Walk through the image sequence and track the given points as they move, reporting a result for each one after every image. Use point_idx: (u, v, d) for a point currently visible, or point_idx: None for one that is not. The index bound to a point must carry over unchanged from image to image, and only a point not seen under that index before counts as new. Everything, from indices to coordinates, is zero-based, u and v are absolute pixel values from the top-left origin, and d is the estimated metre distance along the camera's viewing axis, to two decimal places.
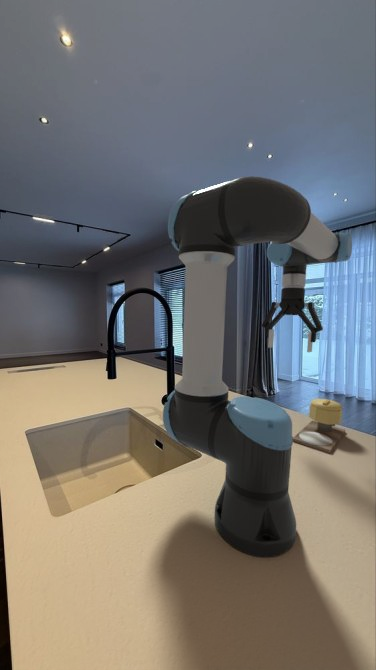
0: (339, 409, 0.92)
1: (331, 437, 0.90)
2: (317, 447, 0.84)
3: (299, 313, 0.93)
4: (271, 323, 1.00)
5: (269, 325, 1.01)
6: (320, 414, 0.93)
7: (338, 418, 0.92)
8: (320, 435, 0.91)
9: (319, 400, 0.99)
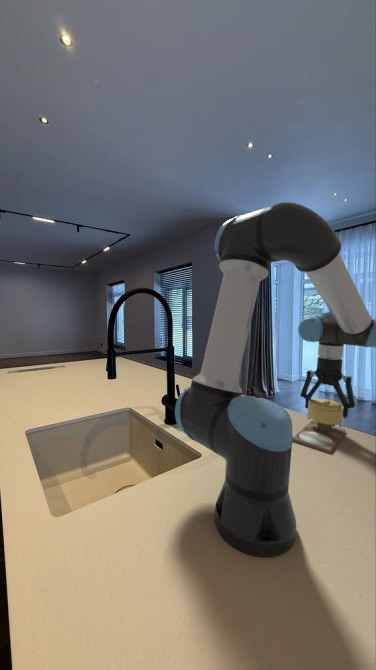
0: (339, 409, 0.92)
1: (331, 437, 0.90)
2: (317, 447, 0.84)
3: (335, 386, 0.92)
4: (310, 394, 0.98)
5: (308, 396, 0.99)
6: (320, 414, 0.93)
7: (338, 418, 0.92)
8: (320, 435, 0.91)
9: (319, 400, 0.99)
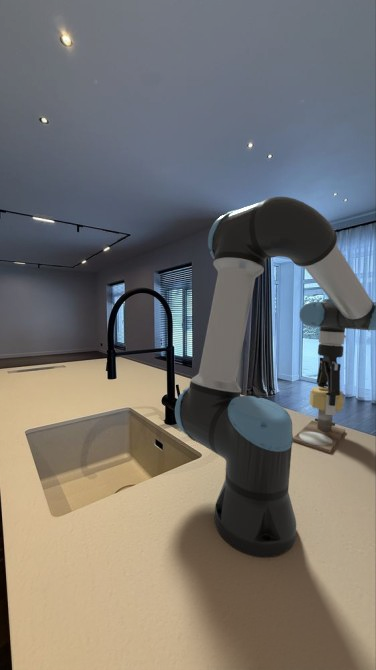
0: (326, 395, 0.92)
1: (331, 437, 0.90)
2: (317, 447, 0.84)
3: (325, 372, 0.93)
4: (319, 380, 1.01)
5: (318, 382, 1.01)
6: (311, 397, 0.97)
7: (323, 404, 0.92)
8: (320, 435, 0.91)
9: None
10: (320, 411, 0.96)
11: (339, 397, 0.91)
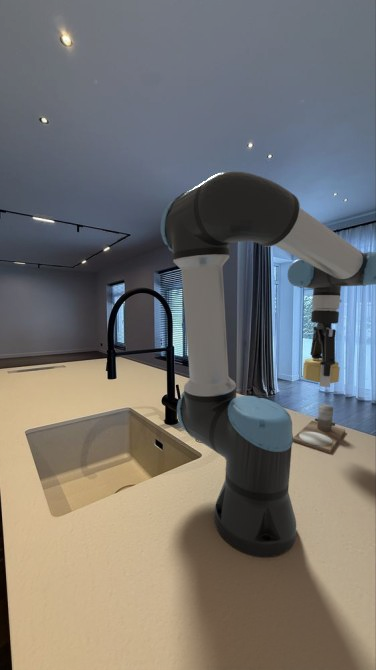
0: (320, 365, 0.83)
1: (331, 437, 0.90)
2: (317, 447, 0.84)
3: (319, 340, 0.84)
4: (313, 351, 0.92)
5: (312, 353, 0.93)
6: (304, 369, 0.88)
7: (317, 375, 0.83)
8: (320, 435, 0.91)
9: None
10: (320, 411, 0.96)
11: (334, 367, 0.83)
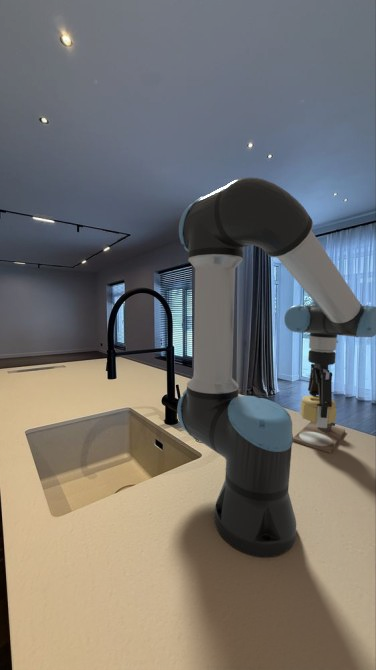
0: (317, 406, 0.84)
1: (331, 437, 0.90)
2: (317, 447, 0.84)
3: (316, 380, 0.85)
4: (310, 388, 0.93)
5: (310, 390, 0.94)
6: (302, 407, 0.90)
7: (314, 415, 0.84)
8: (320, 435, 0.91)
9: None
10: None
11: (331, 408, 0.84)
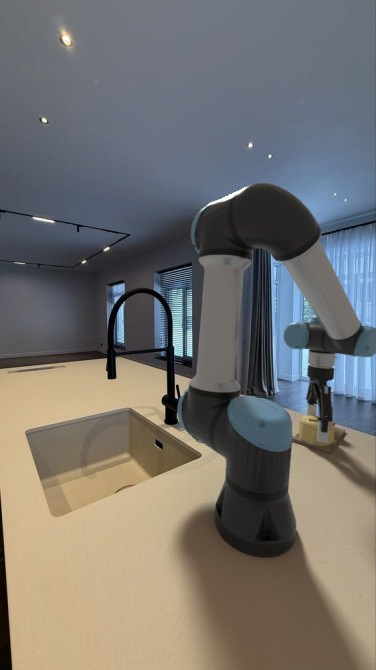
0: (315, 428, 0.85)
1: None
2: (317, 447, 0.84)
3: (315, 395, 0.85)
4: (308, 398, 0.95)
5: (308, 400, 0.95)
6: (300, 427, 0.90)
7: (312, 437, 0.85)
8: None
9: None
10: None
11: (329, 430, 0.84)
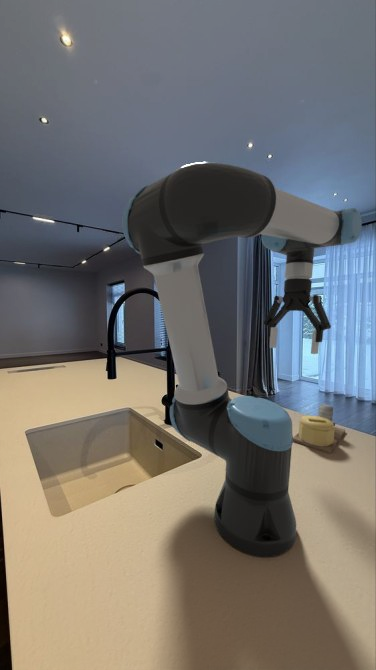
0: (315, 428, 0.85)
1: None
2: (317, 447, 0.84)
3: (303, 308, 0.80)
4: (273, 320, 0.88)
5: (271, 322, 0.89)
6: (300, 427, 0.90)
7: (312, 437, 0.85)
8: None
9: (319, 418, 0.91)
10: (320, 411, 0.96)
11: (329, 430, 0.84)
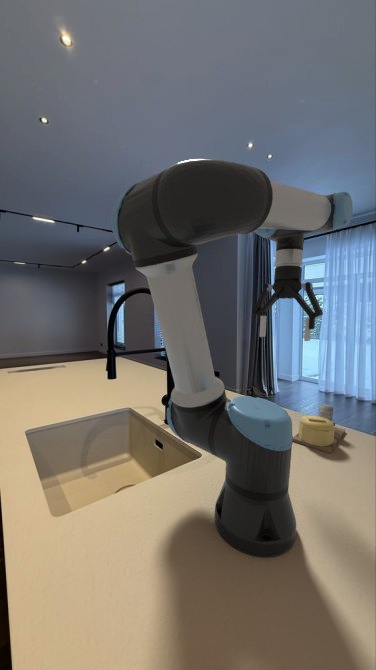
0: (315, 428, 0.85)
1: None
2: (317, 447, 0.84)
3: (295, 295, 0.80)
4: (263, 308, 0.87)
5: (261, 311, 0.87)
6: (300, 427, 0.90)
7: (312, 437, 0.85)
8: None
9: (319, 418, 0.91)
10: (320, 411, 0.96)
11: (329, 430, 0.84)
